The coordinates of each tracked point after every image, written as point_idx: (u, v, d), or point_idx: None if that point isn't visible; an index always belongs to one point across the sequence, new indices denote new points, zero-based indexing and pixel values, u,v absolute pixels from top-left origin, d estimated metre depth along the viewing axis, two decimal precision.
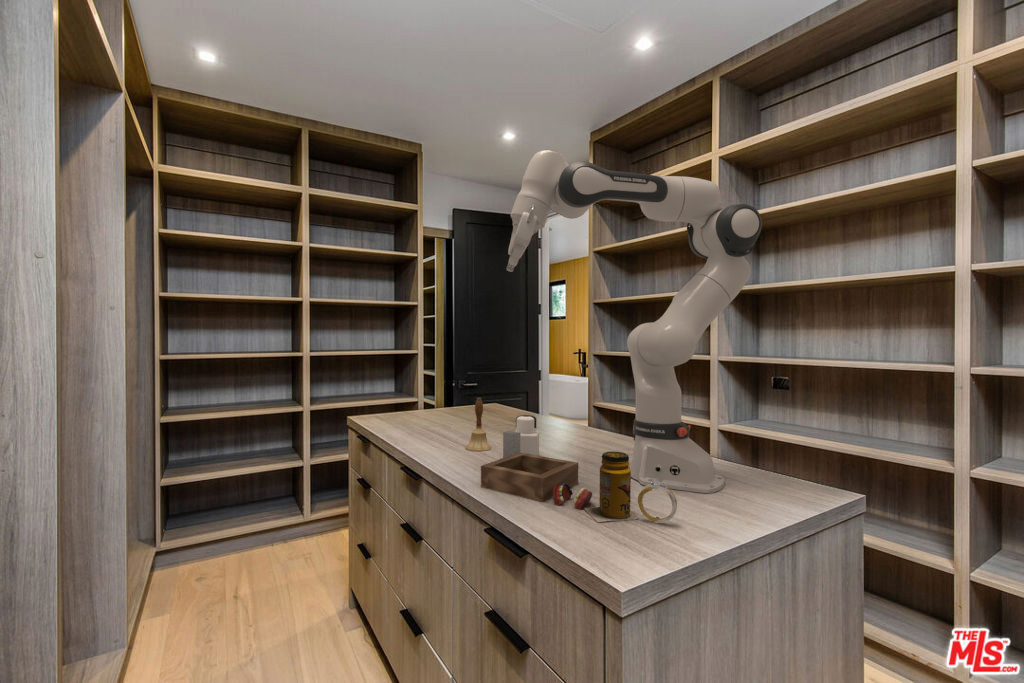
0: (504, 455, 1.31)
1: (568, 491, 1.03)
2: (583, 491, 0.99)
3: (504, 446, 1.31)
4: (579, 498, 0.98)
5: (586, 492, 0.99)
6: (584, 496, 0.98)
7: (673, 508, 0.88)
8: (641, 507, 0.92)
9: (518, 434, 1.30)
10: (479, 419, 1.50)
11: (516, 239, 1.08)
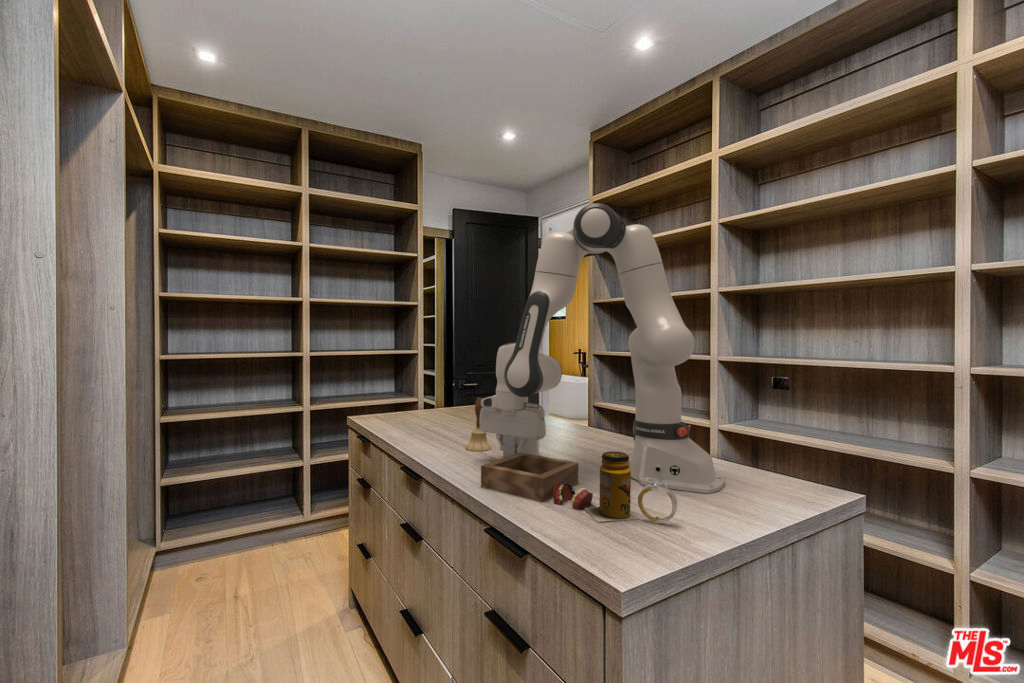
0: (504, 455, 1.31)
1: (570, 491, 1.03)
2: (582, 491, 0.99)
3: (504, 446, 1.31)
4: (576, 498, 0.98)
5: (585, 492, 0.99)
6: (582, 496, 0.98)
7: (673, 508, 0.88)
8: (641, 507, 0.92)
9: None
10: (479, 419, 1.50)
11: (538, 438, 1.24)
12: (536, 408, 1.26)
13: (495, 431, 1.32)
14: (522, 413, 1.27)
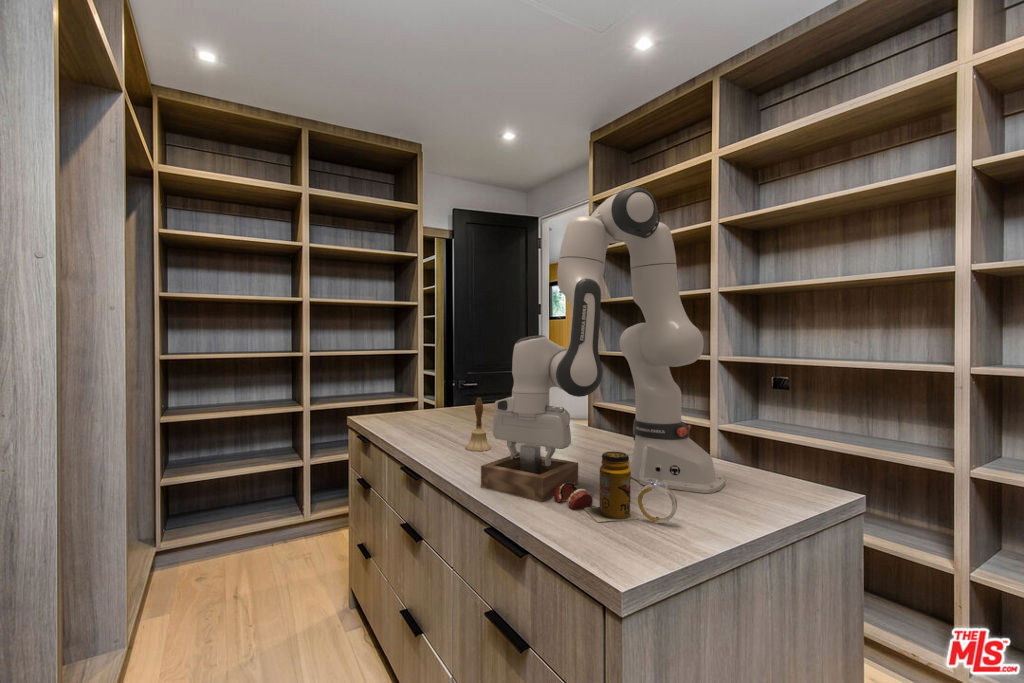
0: None
1: (574, 491, 1.03)
2: (578, 492, 0.98)
3: (521, 462, 1.13)
4: (572, 498, 0.98)
5: (581, 493, 0.98)
6: (577, 497, 0.97)
7: (673, 508, 0.88)
8: (641, 507, 0.92)
9: (538, 448, 1.12)
10: (479, 419, 1.50)
11: (563, 448, 1.07)
12: (560, 412, 1.08)
13: (511, 438, 1.14)
14: (543, 418, 1.09)
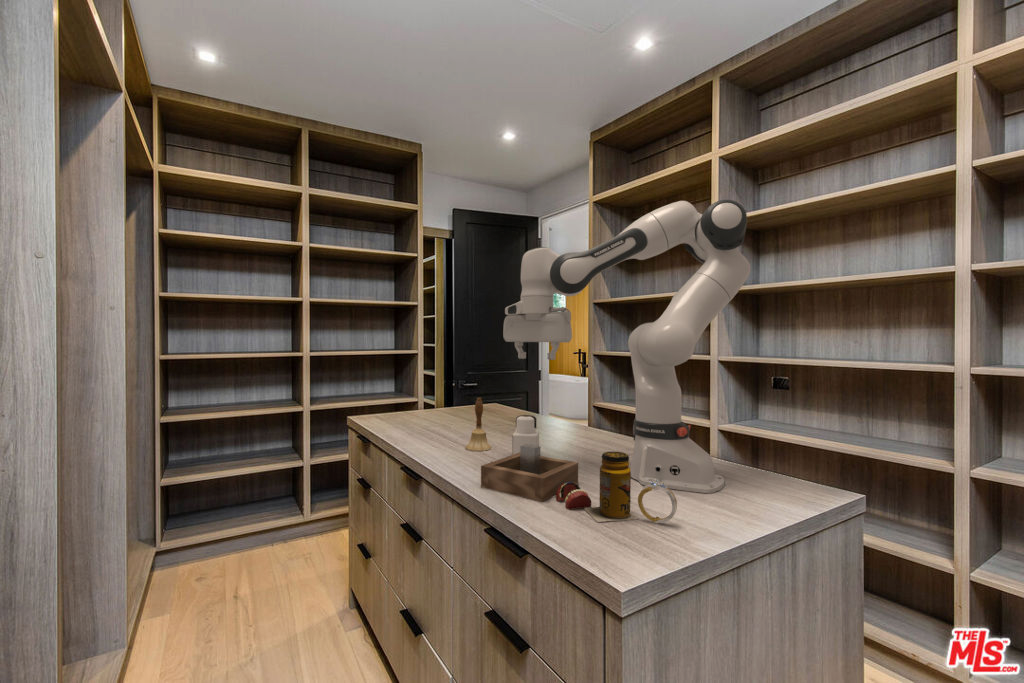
0: None
1: None
2: (575, 492, 0.98)
3: (521, 462, 1.13)
4: (568, 498, 0.98)
5: (578, 494, 0.98)
6: (573, 497, 0.97)
7: (673, 508, 0.88)
8: (641, 507, 0.92)
9: (538, 448, 1.12)
10: (479, 419, 1.50)
11: (565, 341, 1.23)
12: (562, 311, 1.25)
13: (519, 338, 1.31)
14: (548, 317, 1.25)
